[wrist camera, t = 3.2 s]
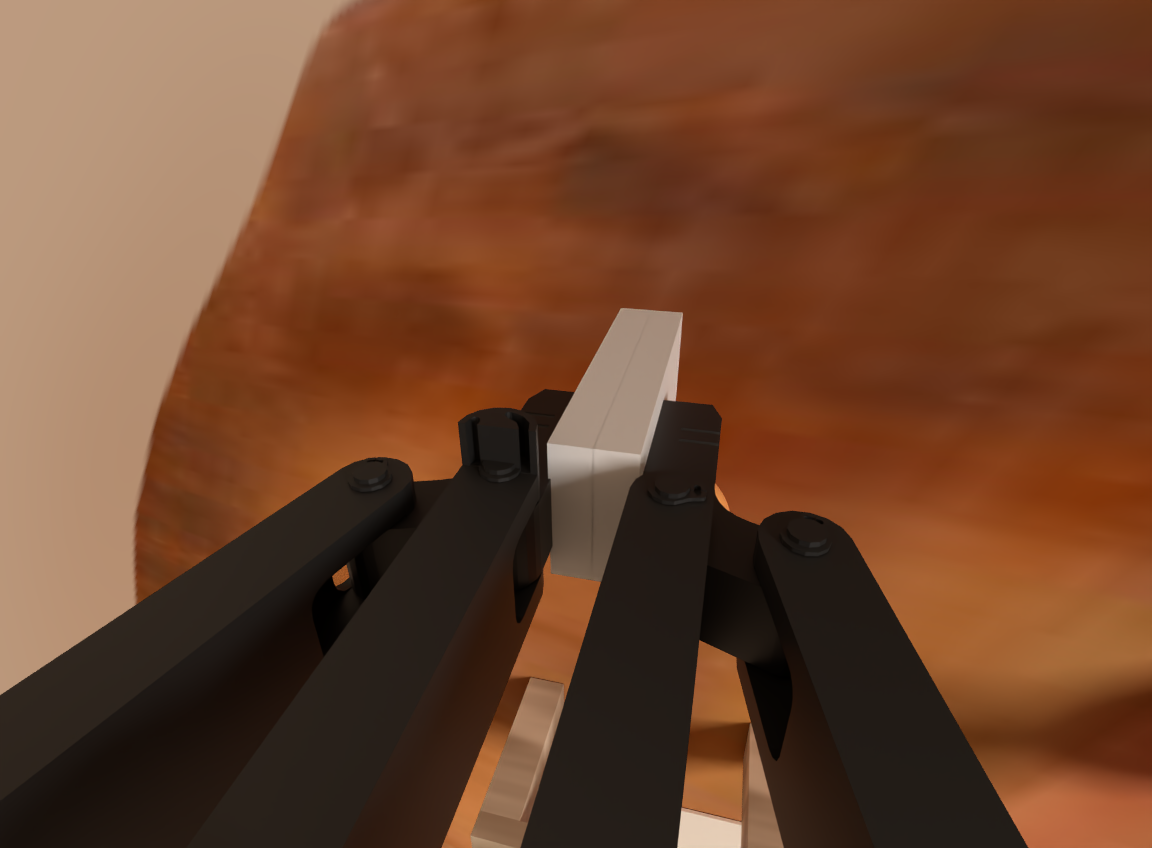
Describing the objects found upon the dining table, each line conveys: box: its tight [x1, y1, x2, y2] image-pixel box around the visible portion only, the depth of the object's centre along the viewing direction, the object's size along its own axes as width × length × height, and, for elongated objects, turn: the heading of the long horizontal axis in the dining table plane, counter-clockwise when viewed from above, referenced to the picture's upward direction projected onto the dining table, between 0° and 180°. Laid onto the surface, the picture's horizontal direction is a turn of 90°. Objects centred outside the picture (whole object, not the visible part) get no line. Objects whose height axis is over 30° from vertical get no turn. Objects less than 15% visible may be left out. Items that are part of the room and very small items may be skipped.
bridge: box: [471, 677, 784, 848], centre depth 33 cm, size 3×14×9 cm, turn 90°
